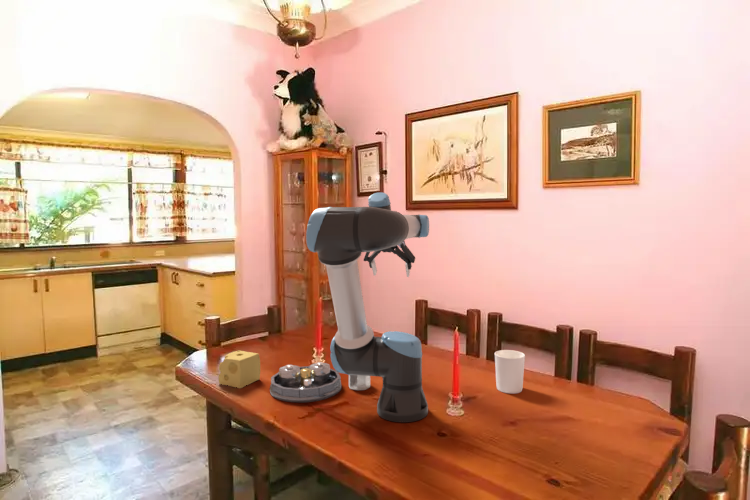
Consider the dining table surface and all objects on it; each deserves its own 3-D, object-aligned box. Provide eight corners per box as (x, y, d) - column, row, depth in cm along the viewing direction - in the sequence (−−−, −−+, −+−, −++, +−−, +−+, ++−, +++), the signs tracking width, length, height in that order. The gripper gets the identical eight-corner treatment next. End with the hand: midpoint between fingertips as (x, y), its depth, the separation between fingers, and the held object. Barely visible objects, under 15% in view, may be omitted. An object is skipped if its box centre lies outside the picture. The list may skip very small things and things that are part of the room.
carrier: (347, 398, 151) (346, 375, 150) (270, 406, 145) (270, 382, 144) (335, 373, 174) (334, 354, 173) (269, 380, 168) (268, 359, 167)
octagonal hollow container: (371, 389, 158) (371, 371, 158) (351, 391, 156) (351, 373, 156) (367, 382, 165) (366, 365, 164) (347, 383, 163) (347, 367, 163)
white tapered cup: (526, 395, 151) (526, 359, 150) (495, 393, 153) (495, 357, 152) (522, 384, 160) (523, 350, 160) (493, 383, 162) (493, 349, 162)
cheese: (218, 384, 164) (217, 356, 164) (240, 375, 174) (239, 349, 173) (240, 389, 159) (239, 360, 159) (261, 379, 169) (261, 352, 168)
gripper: (419, 225, 172) (424, 268, 185) (354, 224, 179) (364, 266, 192) (415, 238, 167) (421, 281, 180) (349, 236, 173) (359, 278, 186)
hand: (391, 274), depth 186 cm, fingers open, 13 cm apart
